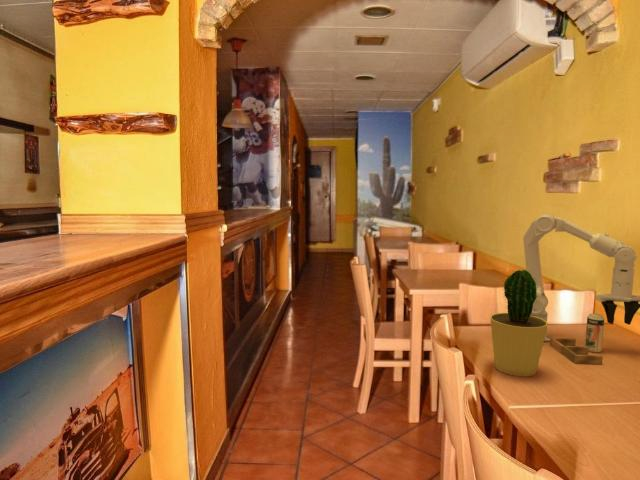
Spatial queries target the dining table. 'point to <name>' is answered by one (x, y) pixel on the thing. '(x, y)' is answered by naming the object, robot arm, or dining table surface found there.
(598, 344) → the beer can
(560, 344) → the brown compartment tray
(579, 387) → the dining table surface
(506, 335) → the potted cactus
